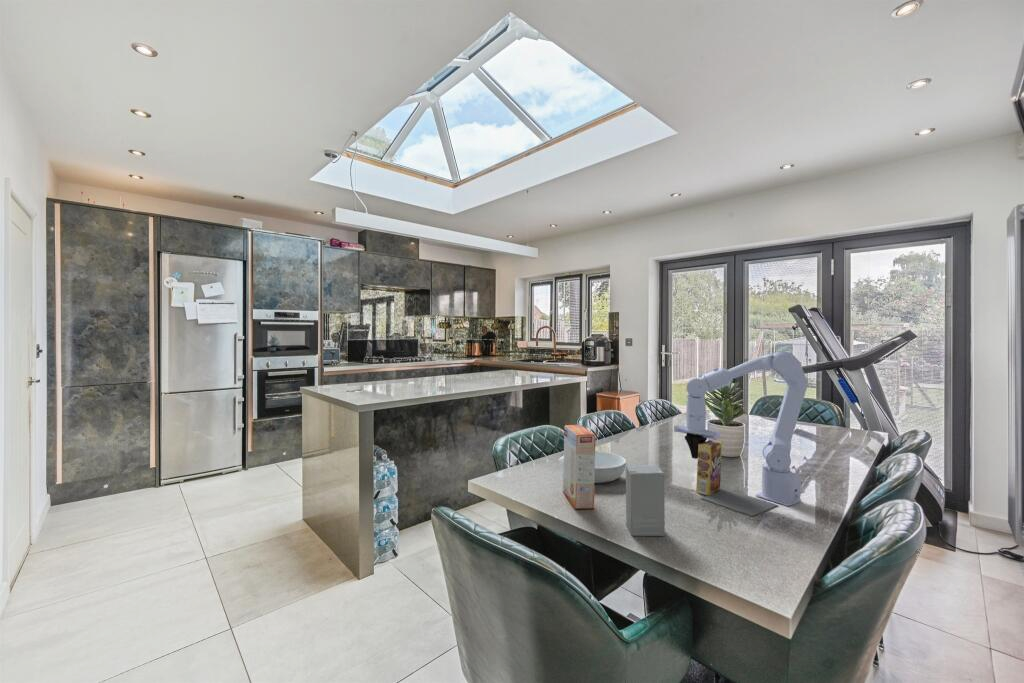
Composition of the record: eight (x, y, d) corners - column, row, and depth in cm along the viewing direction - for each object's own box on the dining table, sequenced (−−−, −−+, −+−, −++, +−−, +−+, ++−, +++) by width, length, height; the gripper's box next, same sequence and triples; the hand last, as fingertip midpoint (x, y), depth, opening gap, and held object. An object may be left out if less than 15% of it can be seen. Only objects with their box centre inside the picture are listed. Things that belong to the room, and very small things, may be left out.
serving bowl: (560, 468, 157) (561, 449, 157) (618, 470, 156) (619, 451, 156) (565, 488, 136) (566, 466, 136) (632, 490, 135) (632, 468, 135)
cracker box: (595, 509, 120) (596, 434, 120) (574, 510, 119) (575, 434, 119) (581, 491, 134) (582, 424, 133) (562, 492, 133) (563, 424, 133)
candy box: (710, 496, 130) (710, 446, 130) (695, 493, 133) (696, 443, 133) (721, 490, 136) (722, 441, 136) (707, 486, 140) (708, 439, 139)
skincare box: (657, 525, 110) (658, 463, 109) (665, 538, 102) (666, 472, 102) (623, 524, 110) (624, 462, 110) (629, 537, 103) (630, 471, 103)
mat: (778, 506, 124) (778, 505, 124) (752, 516, 116) (752, 515, 116) (727, 490, 136) (727, 489, 136) (701, 498, 128) (701, 497, 128)
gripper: (724, 417, 135) (724, 461, 135) (682, 411, 147) (682, 451, 147) (712, 420, 131) (712, 464, 131) (670, 413, 143) (669, 454, 143)
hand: (695, 457), depth 139 cm, fingers closed
